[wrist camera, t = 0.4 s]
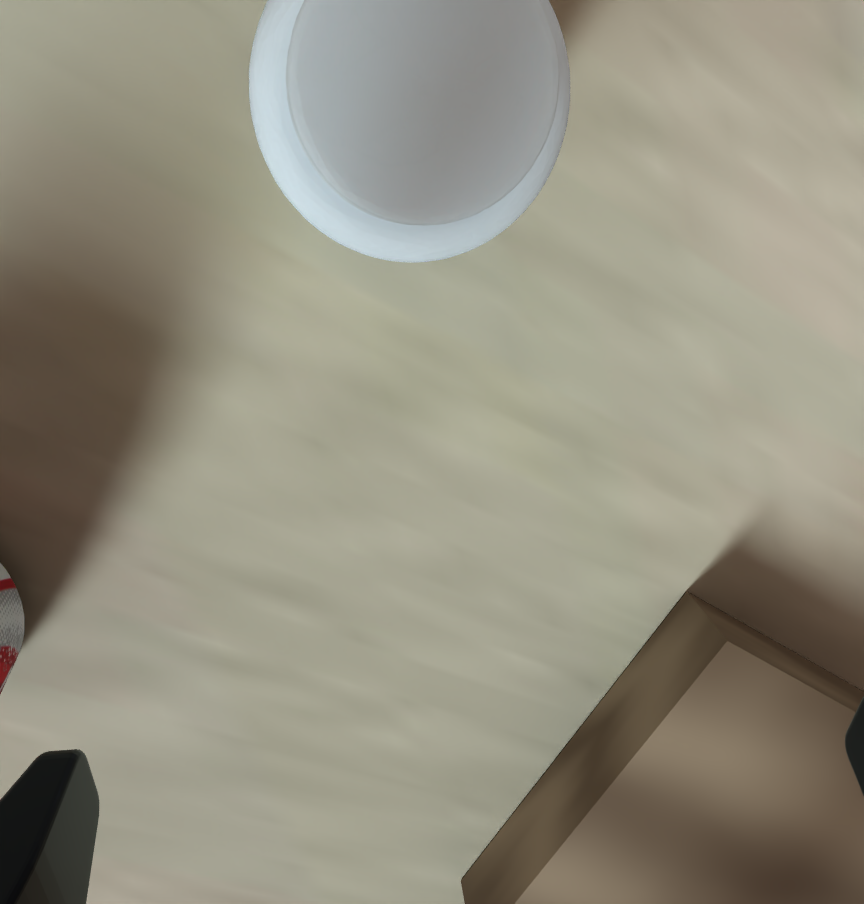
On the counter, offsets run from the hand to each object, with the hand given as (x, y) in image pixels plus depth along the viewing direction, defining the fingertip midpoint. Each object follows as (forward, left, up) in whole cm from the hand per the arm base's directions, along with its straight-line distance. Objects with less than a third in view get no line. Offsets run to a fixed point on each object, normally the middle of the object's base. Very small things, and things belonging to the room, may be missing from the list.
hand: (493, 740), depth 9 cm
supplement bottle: (+6, +4, -15) cm, 17 cm away
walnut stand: (-8, -19, -15) cm, 26 cm away
